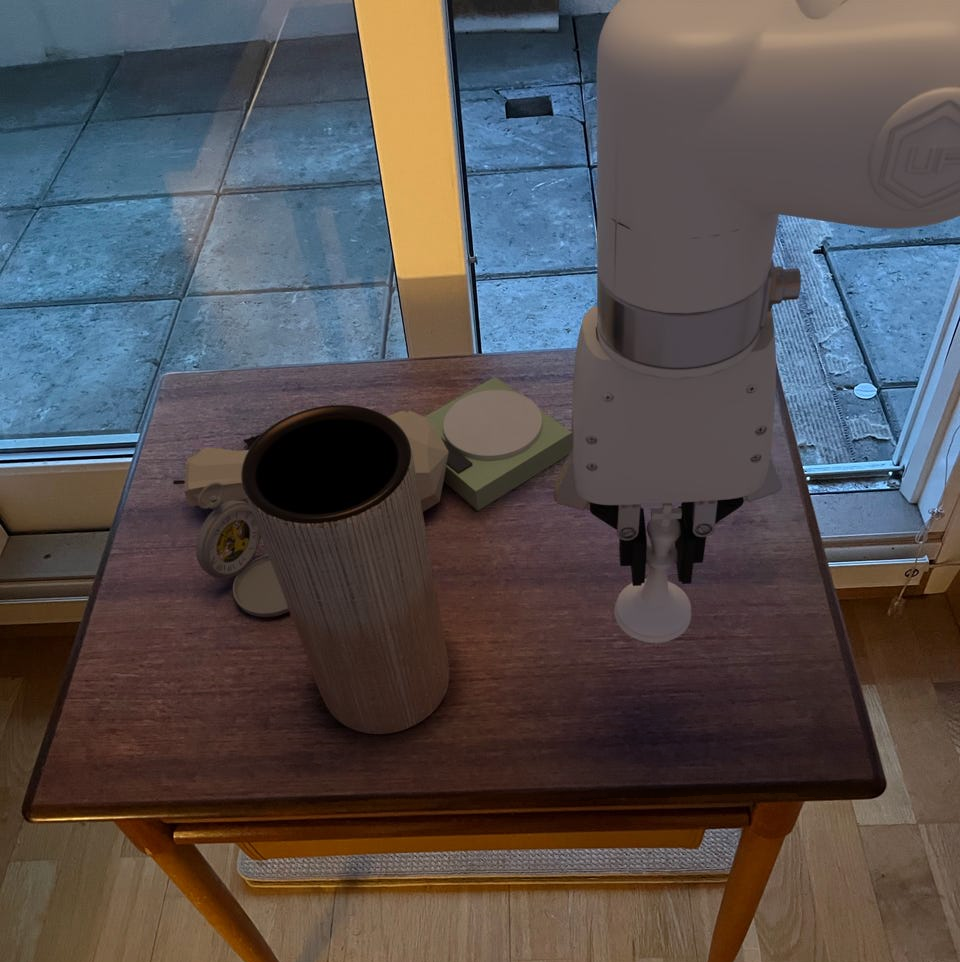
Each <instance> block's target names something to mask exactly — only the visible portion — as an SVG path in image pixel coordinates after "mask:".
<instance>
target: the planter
mask: <svg viewBox="0 0 960 962" xmlns="http://www.w3.org/2000/svg"><path fill="white" fill-rule="evenodd" d="M387 416H388V415H386V414H384V413H381V412H379V411H377V410H374V409H371V408H368V407H364V406H358V405H351V404H330V405H322V406H316V407H311V408H307V409H305V410H301V411H299V412H295V413H294V414H291V415H288V416H287V417H285V418H283V419H281V420H279V421H278V422H276V423H274V424H273V425H271V426H270V427H268V428H267V429H266V430H265V431H263V432H262V433H263V434H262V435H261V434H260V435H261V436H260V437H259V438H258V439H257V440H256V441H255V442H254V443H253V445H252V446H251V448H250V447H249V449H248V450H249V451H248V453H247V455H246V457H245V459H244V462H243V466H242V472H241V481H242V486H243V489H244V492H245V495H246V498H247V500H248V502H247V503H249V506H250V509H251V511H252V514H253V516H254V519H255V522H256V524H257V527H258V530H259V532H260V535H261V540H262V543H263V545H264V548H265V551H266V555H267V554H268V556H269V559H270V561H271V564H272V567H273V569H274V572H275V575H276V577H277V580H278V583H279V585H280V588H281V591H282V593H283V596H284V598H285V601H286V604H287V606H288V609H289V612H288V613H289V615H290V617H291V620H292V622H293V625H294V628H295V630H296V633H297V636H298V638H299V640H300V643H301V647H302V648H303V652H304V654H305V657H306V659H307V663H308V665H309V667H310V670H311V672H312V675H313V677H314V681H315V683H316V686H317V688H318V691H319V693H320V696H321V698H322V700H323V702H324V704H325V706H326V708H327V710H328V711H329V713H330V714H331V715H332V716H333V717H334V718H335V720H337V721H338V722H339V723H340V724H342V725H343V726H345V727H347V728H349V729H351V730H355V731H357V732H360V733H364V734H372V735H386V734H387V735H388V734H394V733H397V732H401V731H406V730H407V729H410V728H411V727H414V726H416V725H418V724H419V723H421V722H423V721H424V720H426V719H427V718H428V717H429V716H430V715H432V713H434V712H435V710H437V709H438V707H439V706H440V705H441V703H442V701H443V700H444V697H445V696H446V694H447V691H448V688H449V684H450V663H449V662H450V661H449V655H448V649H447V643H446V639H445V638H446V637H445V632H444V627H443V621H442V616H441V609H440V603H439V599H438V593H437V586H436V581H435V576H434V570H433V565H432V559H431V553H430V548H429V547H430V546H429V542H428V535H427V530H426V524H425V519H424V512H422V506H421V501H420V495H419V489H418V484H417V478H416V472H415V467H414V461H413V455H412V450H411V446H410V442H409V440H408V438H407V436H406V434H405V433H404V431H403V430H402V429H401V427H400V426H399V425H398V424H397V423H395V422H394V421H393V420H392V419H390V418H389V417H387Z"/></svg>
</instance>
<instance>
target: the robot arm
mask: <svg viewBox="0 0 960 962" xmlns="http://www.w3.org/2000/svg"><path fill="white" fill-rule="evenodd" d="M596 57H597V58H596V220H597V221H596V266H597V267H596V305H594V306H592V307H591V308H589V310H587V312H586V313H585V314H584V316H583V317H582V321H581V324H580V328H579V333H578V337H577V342H576V350H575V355H574V363H573V373H572V374H573V376H572V392H571V394H572V395H571V431H570V432H571V433H572V449H571V451H570V453H569V455H567V456H566V459H565V460H564V462H563V465H562V466H561V468H560V470H559V471H558V474H557V476H556V477H555V479H554V482H553V497H554V498H553V499H554V501H555V503H556V504H558V505H562V506H565V507H569V508H573V509H576V510H577V509H578V510H580V511H585V510H587V511H590V513H591V515H593V516H594V517H595V518H597V519H599V520H600V521H602V522H603V523H604V524H606V525H608V526H610V527H611V528H613V529H614V530H615V531H616V536H617V538H618V540H619V541H618V542H619V543H618V547H619V548H618V551H619V552H618V553H619V565H620V567H630V572H631V583H632V584H633V586H641V584H642V583H645V579H646V569H647V564H646V553H647V545H648V540H647V539H648V538H647V527H646V519H645V510H644V507H642V505H655V504H663V503H672V504H675V503H678V504H679V503H680V506H677V508H681V510H682V517H681V519H677V520H678V521H679V522H680V529H681V534H680V536H679V538H678V539H677V541H676V542H675V543H674V547H675V548H676V549H677V552H678V561H677V563H676V564H675V565H676V573H677V579H678V582H679V583H681V584H682V585H690V584H692V579H693V572H694V564H702V563H704V558H705V550H706V541H707V537H709V536H711V535H713V534H714V532H715V529H716V524H718V523H719V522H720V521H722V520H724V519H725V518H726V517H728V516H729V515H731V514H732V513H735V511H737V510H739V509H740V508H741V507H742V506H743V505H744V503H745V502H748V503H751V502H753V501H754V502H755V501H756V500H759V499H762V498H763V499H764V498H765V497H768V496H771V495H774V494H776V493H778V492H780V491H781V489H782V488H783V485H782V484H783V483H782V481H781V475H780V472H779V468H778V466H777V463H776V461H775V459H774V455H773V454H772V444H773V435H774V424H775V423H774V421H775V408H776V407H775V406H776V390H777V348H776V346H777V345H776V335H775V333H776V332H775V322H774V313H773V311H772V308H773V306H774V305H779V304H782V302H783V301H793V300H798V299H799V297H800V294H801V288H802V286H801V285H802V276H801V271H800V268H798V267H795V268H783V266H782V265H779V266H775V264H774V259H773V254H774V247H775V241H776V234H777V229H778V222H779V216H788V217H794V218H802V219H808V220H814V221H822V222H826V223H833V224H840V225H847V226H854V227H863V228H871V229H884V230H885V229H887V230H901V229H912V228H914V229H915V228H923V227H929V226H932V225H937V224H941V223H944V222H948V221H950V220H953V219H955V218H958V217H960V0H618V1H617V3H616V4H615V5H614V6H613V8H612V9H611V11H610V12H609V14H608V15H607V17H606V19H605V21H604V24H603V26H602V29H601V31H600V34H599V39H598V44H597V56H596Z"/></svg>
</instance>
